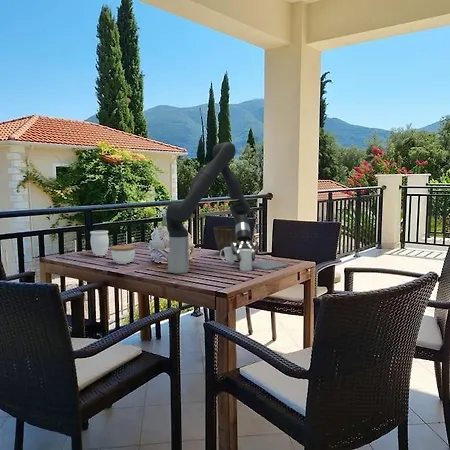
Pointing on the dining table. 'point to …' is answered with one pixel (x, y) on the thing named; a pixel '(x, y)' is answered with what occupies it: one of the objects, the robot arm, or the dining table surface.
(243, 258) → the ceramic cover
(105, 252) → the jar
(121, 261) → the lidded bowl
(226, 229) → the plant pot
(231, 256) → the cup
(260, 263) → the rubber mat
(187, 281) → the dining table surface
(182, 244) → the robot arm
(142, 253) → the dining table surface
